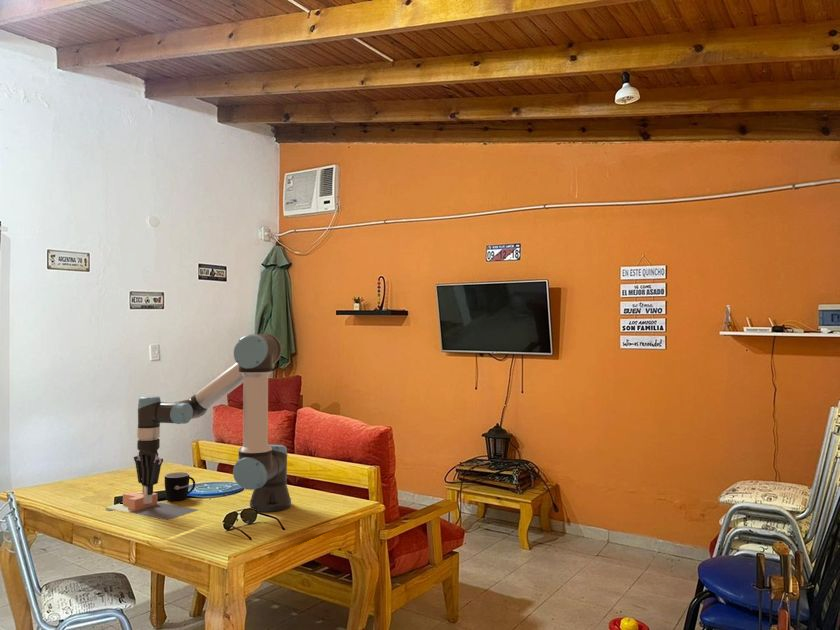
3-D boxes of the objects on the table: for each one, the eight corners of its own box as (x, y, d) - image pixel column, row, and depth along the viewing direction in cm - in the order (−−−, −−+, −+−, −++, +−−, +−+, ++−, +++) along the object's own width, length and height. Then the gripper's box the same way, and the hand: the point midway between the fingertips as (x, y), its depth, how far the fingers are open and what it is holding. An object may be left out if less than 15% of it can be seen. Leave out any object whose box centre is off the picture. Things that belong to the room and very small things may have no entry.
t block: (157, 504, 240) (157, 493, 240) (134, 510, 232) (134, 499, 232) (138, 500, 245) (138, 490, 245) (115, 507, 236) (115, 496, 236)
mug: (171, 505, 241) (171, 478, 242) (159, 501, 247) (160, 474, 247) (200, 499, 250) (201, 473, 251) (188, 495, 256) (189, 469, 256)
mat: (198, 512, 234) (198, 509, 234) (167, 522, 221) (167, 520, 221) (137, 500, 248) (137, 498, 248) (105, 509, 236) (105, 507, 236)
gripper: (169, 438, 236) (168, 503, 236) (144, 435, 242) (143, 498, 242) (152, 441, 230) (151, 508, 229) (127, 438, 236) (126, 503, 235)
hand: (147, 503), depth 236 cm, fingers closed
